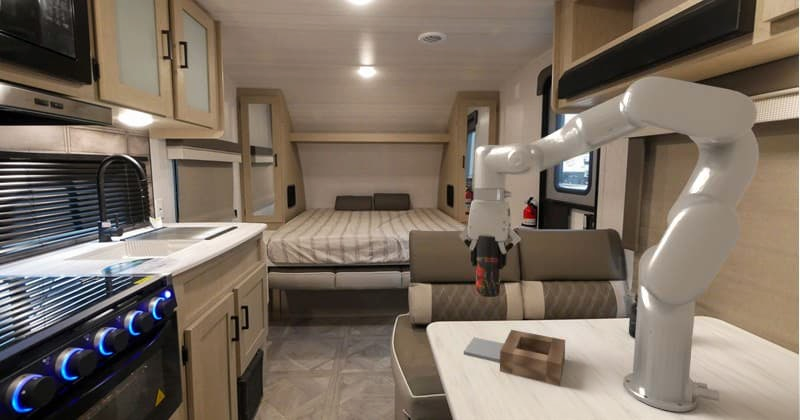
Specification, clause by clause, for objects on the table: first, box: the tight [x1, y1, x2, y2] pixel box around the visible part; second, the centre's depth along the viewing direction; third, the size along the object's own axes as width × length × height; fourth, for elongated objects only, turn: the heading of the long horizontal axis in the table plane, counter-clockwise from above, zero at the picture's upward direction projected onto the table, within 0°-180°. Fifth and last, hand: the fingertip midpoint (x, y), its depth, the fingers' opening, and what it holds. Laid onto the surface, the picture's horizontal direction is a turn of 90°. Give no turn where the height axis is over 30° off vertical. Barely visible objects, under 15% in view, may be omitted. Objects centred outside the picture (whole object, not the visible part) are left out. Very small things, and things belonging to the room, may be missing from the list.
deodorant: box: [475, 236, 501, 298], centre depth 94 cm, size 6×6×15 cm
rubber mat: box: [463, 336, 505, 363], centre depth 97 cm, size 9×9×1 cm
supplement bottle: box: [628, 292, 638, 339], centre depth 104 cm, size 7×7×12 cm
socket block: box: [499, 329, 566, 387], centre depth 89 cm, size 13×13×5 cm
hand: (488, 266), depth 94 cm, fingers closed on deodorant, 6 cm apart
